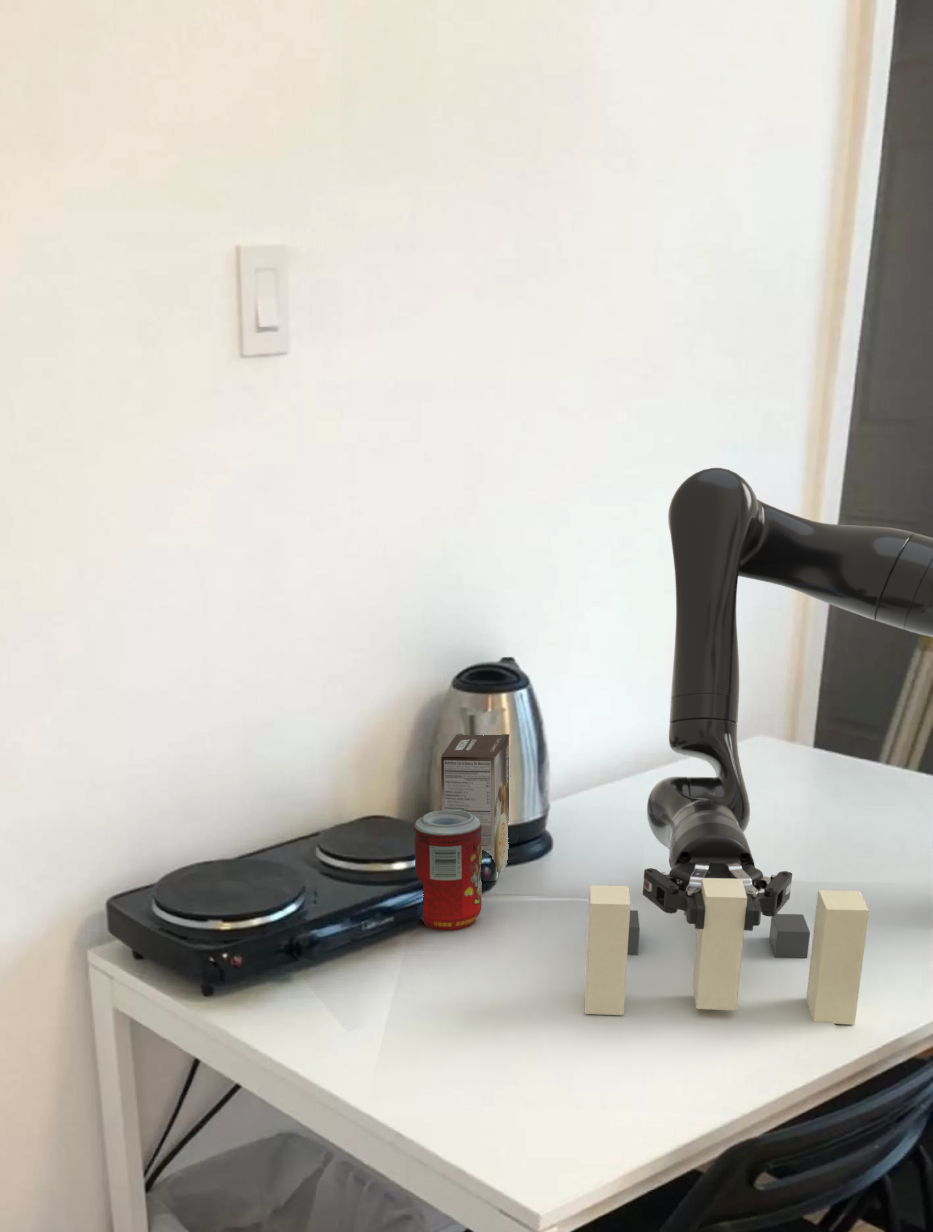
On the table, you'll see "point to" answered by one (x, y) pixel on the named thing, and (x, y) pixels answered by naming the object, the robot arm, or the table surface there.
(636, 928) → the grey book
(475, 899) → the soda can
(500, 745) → the coffee box
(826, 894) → the beige tall block
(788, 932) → the charcoal foam cube
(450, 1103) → the table surface
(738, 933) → the tall beige block
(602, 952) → the cream rectangular block
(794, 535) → the robot arm
